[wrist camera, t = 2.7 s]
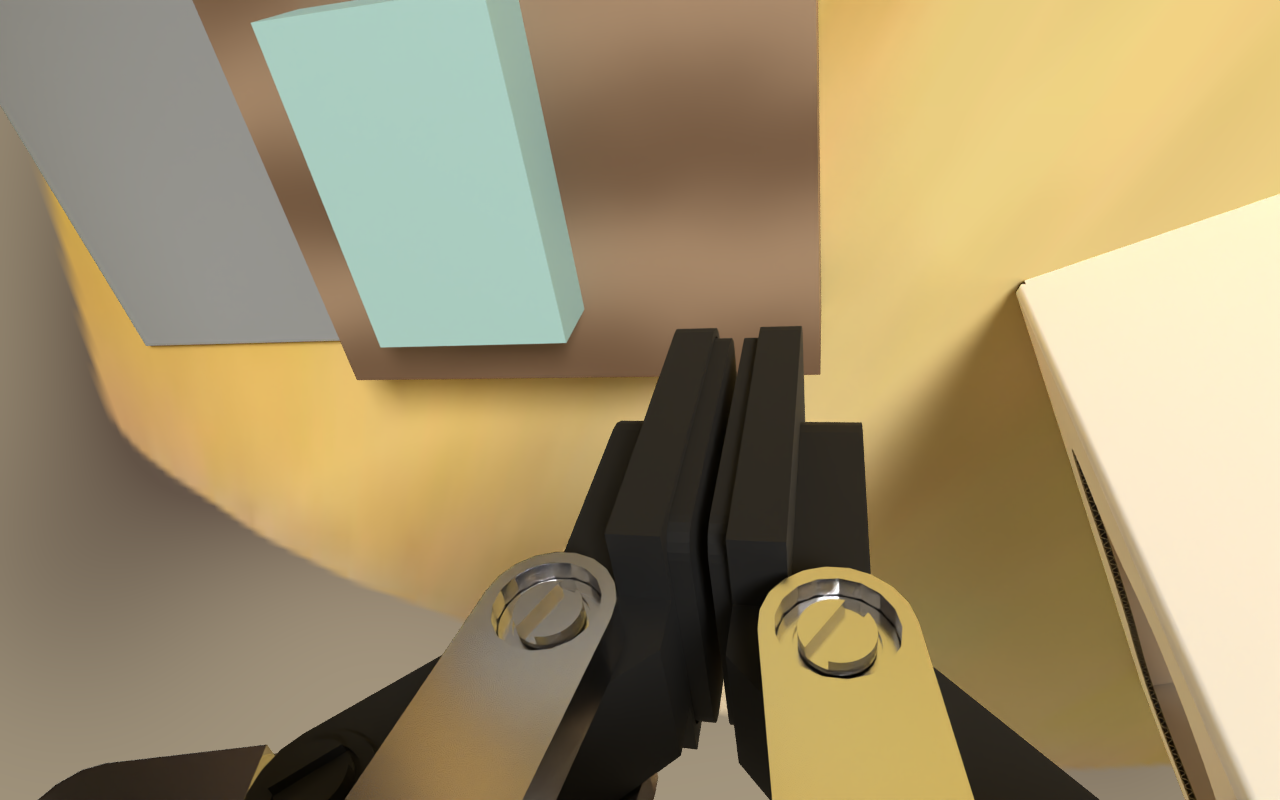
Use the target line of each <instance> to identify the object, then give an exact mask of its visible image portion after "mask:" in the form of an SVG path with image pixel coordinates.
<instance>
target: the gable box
mask: <svg viewBox="0 0 1280 800" xmlns="http://www.w3.org/2000/svg"><path fill="white" fill-rule="evenodd" d="M1024 283H1025V284H1021V286H1020V287H1019V289H1018V290H1017V291H1016V295H1017V298H1018V301H1019V304H1020V308H1021V311H1022V314H1023V317H1024V320H1025V323H1026V326H1027V329H1028V333H1029V336H1030V339H1031V342H1032V345H1033V348H1034V351H1035V354H1036V357H1037V361H1038V364H1039V367H1040V370H1041V373H1042V376H1043V379H1044V382H1045V386H1046V389H1047V392H1048V395H1049V398H1050V401H1051V404H1052V407H1053V411H1054V414H1055V417H1056V420H1057V423H1058V426H1059V429H1060V432H1061V436H1062V439H1063V442H1064V445H1065V448H1066V451H1067V454H1068V457H1069V460H1070V464H1071V467H1072V470H1073V473H1074V476H1075V479H1076V482H1077V485H1078V489H1079V492H1080V495H1081V498H1082V501H1083V504H1084V507H1085V510H1086V514H1087V517H1088V520H1089V523H1090V526H1091V529H1092V532H1093V535H1094V539H1095V542H1096V545H1097V548H1098V551H1099V554H1100V557H1101V560H1102V563H1103V567H1104V570H1105V573H1106V576H1107V579H1108V582H1109V585H1110V588H1111V592H1112V595H1113V598H1114V601H1115V604H1116V607H1117V610H1118V613H1119V617H1120V620H1121V623H1122V626H1123V629H1124V632H1125V635H1126V638H1127V642H1128V645H1129V648H1130V651H1131V654H1132V657H1133V660H1134V663H1135V667H1136V670H1137V673H1138V676H1139V679H1140V682H1141V685H1142V688H1143V691H1144V693H1145V696H1146V698H1147V701H1148V704H1149V706H1150V709H1151V712H1152V714H1153V717H1154V719H1155V722H1156V725H1157V727H1158V730H1159V733H1160V735H1161V738H1162V740H1163V743H1164V746H1165V748H1166V751H1167V754H1168V756H1169V759H1170V761H1171V764H1172V767H1173V769H1174V772H1175V775H1176V777H1177V780H1178V783H1179V785H1180V787H1181V790H1182V793H1183V796H1184V798H1185V800H1280V194H1278V195H1275V196H1272V197H1269V198H1266V199H1263V200H1260V201H1257V202H1254V203H1251V204H1248V205H1245V206H1242V207H1239V208H1236V209H1234V210H1231V211H1228V212H1225V213H1222V214H1219V215H1216V216H1213V217H1210V218H1207V219H1204V220H1201V221H1198V222H1195V223H1192V224H1189V225H1186V226H1183V227H1181V228H1178V229H1175V230H1172V231H1169V232H1166V233H1163V234H1160V235H1157V236H1154V237H1151V238H1148V239H1145V240H1142V241H1139V242H1136V243H1133V244H1131V245H1128V246H1125V247H1122V248H1119V249H1116V250H1113V251H1110V252H1107V253H1104V254H1101V255H1098V256H1095V257H1092V258H1089V259H1086V260H1083V261H1080V262H1078V263H1075V264H1072V265H1069V266H1066V267H1063V268H1060V269H1057V270H1054V271H1051V272H1048V273H1045V274H1042V275H1039V276H1036V277H1033V278H1030V279H1028V280H1025V281H1024Z"/></svg>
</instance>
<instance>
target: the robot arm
mask: <svg viewBox="0 0 1280 800" xmlns="http://www.w3.org/2000/svg"><path fill="white" fill-rule="evenodd" d="M723 679H724V686H725V694H726V702H727V709H728V717H729V723H730V724H731V725H734V728H735V736H736V744H737V752H738V759H739V763H740V765H742V767H743V768H744V769H745V771H746V772H747V773H748V774H749V775H750V776H751V778H752V779H753V780H754V781H755V783H756V784H757V785H758V786H759V787H760V789H761V790H762V791H763V792H764V793H765V795H766V796H767V797H768V798H769V799H770V800H1099V799H1098V798H1097V797H1095V796H1094V795H1093V794H1092V793H1090V792H1089V791H1088V790H1087V789H1085V788H1084V787H1083V786H1082V785H1080V784H1079V783H1078V782H1077V781H1075V780H1074V779H1073V778H1072V777H1070V776H1069V775H1068V774H1067V773H1065V772H1064V771H1063V770H1062V769H1060V768H1059V767H1058V766H1057V765H1055V764H1054V763H1053V762H1052V761H1050V760H1049V759H1048V758H1047V757H1045V756H1044V755H1043V754H1042V753H1040V752H1039V751H1038V750H1037V749H1035V748H1034V747H1033V746H1032V745H1030V744H1029V743H1028V742H1027V741H1025V740H1024V739H1023V738H1022V737H1020V736H1019V735H1018V734H1017V733H1015V732H1014V731H1013V730H1012V729H1010V728H1009V727H1008V726H1007V725H1005V724H1004V723H1003V722H1002V721H1000V720H999V719H998V718H997V717H995V716H994V715H993V714H992V713H990V712H989V711H988V710H987V709H985V708H984V707H983V706H982V705H980V704H979V703H978V702H977V701H975V700H974V699H973V698H972V697H970V696H969V695H968V694H967V693H965V692H964V691H963V690H962V689H960V688H959V687H958V686H957V685H955V684H954V683H953V682H952V681H950V680H949V679H948V678H947V677H945V676H944V675H943V674H942V673H940V672H939V671H938V670H937V669H935V668H934V667H933V666H932V662H931V659H930V656H929V653H928V649H927V646H926V643H925V640H924V637H923V633H922V630H921V627H920V624H919V621H918V619H917V617H916V615H915V613H914V611H913V609H912V608H911V606H910V604H909V602H908V601H907V600H906V599H905V598H904V597H903V596H902V595H901V594H900V593H899V592H898V591H897V590H896V589H895V588H894V587H893V586H891V585H889V584H887V583H886V582H884V581H882V580H880V579H879V578H877V577H875V576H873V575H871V573H870V555H869V537H868V519H867V500H866V482H865V464H864V446H863V429H862V423H845V422H805V403H804V363H803V331H802V326H775V327H760V331H759V337H758V338H744V342H743V347H742V352H741V357H740V362H739V368H738V373H737V371H736V359H735V347H734V341H733V338H720V336H719V332H718V329H717V328H695V329H676V331H675V333H674V336H673V339H672V342H671V345H670V347H669V350H668V353H667V356H666V359H665V362H664V365H663V367H662V370H661V373H660V376H659V379H658V382H657V385H656V387H655V390H654V393H653V396H652V399H651V402H650V405H649V407H648V410H647V413H646V416H645V419H644V421H620V422H618V423H617V424H616V426H615V427H614V429H613V431H612V434H611V436H610V439H609V441H608V444H607V446H606V449H605V451H604V454H603V456H602V459H601V461H600V464H599V466H598V469H597V471H596V474H595V476H594V479H593V481H592V484H591V486H590V489H589V491H588V494H587V496H586V499H585V501H584V504H583V506H582V509H581V511H580V514H579V516H578V519H577V521H576V524H575V526H574V529H573V531H572V534H571V536H570V539H569V541H568V544H567V546H566V549H565V551H564V552H554V553H548V554H543V555H537V556H534V557H532V558H529V559H527V560H525V561H522V562H520V563H517V564H516V565H514V566H513V567H511V568H510V569H508V570H507V571H505V572H504V573H503V574H501V575H500V576H499V577H498V578H497V579H496V580H495V581H494V582H493V583H492V584H491V586H490V587H489V588H488V589H487V590H486V591H485V593H484V594H483V596H482V597H481V599H480V600H479V602H478V603H477V605H476V606H475V608H474V609H473V611H472V612H471V614H470V615H469V616H468V618H467V619H466V621H465V622H464V624H463V625H462V627H461V629H460V630H459V631H458V633H457V634H456V636H455V637H454V639H453V640H452V642H451V643H450V645H449V646H448V648H447V649H446V650H445V652H444V654H443V655H441V656H440V657H438V658H436V659H434V660H433V661H431V662H429V663H427V664H425V665H424V666H422V667H420V668H419V669H417V670H415V671H413V672H411V673H410V674H408V675H406V676H404V677H403V678H401V679H399V680H397V681H396V682H394V683H392V684H390V685H389V686H387V687H385V688H383V689H381V690H380V691H378V692H376V693H374V694H373V695H371V696H369V697H367V698H366V699H364V700H362V701H360V702H359V703H357V704H355V705H353V706H352V707H350V708H348V709H346V710H344V711H343V712H341V713H339V714H337V715H336V716H334V717H332V718H330V719H329V720H327V721H325V722H324V723H322V724H320V725H318V726H317V727H315V728H313V729H311V730H309V731H308V732H306V733H304V734H302V735H301V736H300V737H298V738H297V739H295V740H294V741H293V742H291V743H290V744H288V745H287V746H285V747H284V748H283V749H281V750H280V751H279V752H278V753H276V754H273V752H272V751H271V750H270V748H269V747H268V745H259V746H250V747H242V748H233V749H225V750H216V751H208V752H199V753H190V754H182V755H173V756H165V757H156V758H147V759H139V760H130V761H121V762H113V763H105V764H101V765H98V766H94V767H91V768H87V769H84V770H81V771H79V772H77V773H76V774H74V775H72V776H70V777H69V778H67V779H65V780H63V781H61V782H60V783H58V784H56V785H55V786H54V787H53V788H51V789H50V790H49V791H48V792H47V793H45V794H44V795H43V796H42V797H41V798H39V799H38V800H653V799H654V796H655V792H656V786H657V781H658V773H657V772H659V771H660V770H661V769H663V768H664V767H666V766H667V765H668V764H670V763H671V762H672V761H674V760H675V759H677V758H678V757H679V756H681V752H682V748H690V749H697V748H698V742H699V735H700V728H701V722H702V721H704V722H713V723H716V721H717V718H718V714H719V708H720V701H721V693H722V686H723Z"/></svg>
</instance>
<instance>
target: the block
mask: <svg viewBox="0 0 1280 800" xmlns="http://www.w3.org/2000/svg"><path fill="white" fill-rule="evenodd" d="M251 25H252V28H253V30H254V33H255V35H256V38H257V40H258V43H259V45H260V48H261V50H262V53H263V55H264V58H265V60H266V63H267V65H268V68H269V70H270V73H271V75H272V78H273V80H274V83H275V85H276V88H277V90H278V93H279V95H280V98H281V100H282V103H283V105H284V108H285V110H286V113H287V115H288V118H289V120H290V123H291V125H292V128H293V130H294V133H295V135H296V138H297V140H298V142H299V145H300V147H301V150H302V152H303V155H304V157H305V160H306V162H307V165H308V167H309V170H310V172H311V175H312V177H313V180H314V182H315V185H316V187H317V190H318V192H319V195H320V197H321V200H322V202H323V205H324V207H325V210H326V212H327V215H328V217H329V220H330V222H331V225H332V227H333V230H334V232H335V235H336V237H337V240H338V242H339V245H340V247H341V250H342V252H343V255H344V257H345V260H346V262H347V265H348V267H349V270H350V272H351V275H352V277H353V280H354V282H355V285H356V287H357V290H358V292H359V295H360V297H361V300H362V302H363V305H364V307H365V310H366V312H367V315H368V317H369V320H370V322H371V325H372V327H373V330H374V332H375V335H376V337H377V340H378V342H379V345H380V347H423V346H465V345H506V344H548V343H567V341H568V339H569V337H570V335H571V333H572V332H573V330H574V328H575V326H576V324H577V322H578V320H579V318H580V317H581V315H582V313H583V311H584V305H583V300H582V295H581V291H580V286H579V281H578V277H577V272H576V267H575V262H574V258H573V253H572V248H571V244H570V239H569V234H568V230H567V225H566V220H565V215H564V211H563V206H562V201H561V197H560V192H559V187H558V183H557V178H556V173H555V168H554V164H553V159H552V154H551V150H550V145H549V140H548V136H547V131H546V126H545V122H544V117H543V112H542V107H541V103H540V98H539V93H538V89H537V84H536V79H535V75H534V70H533V65H532V60H531V56H530V51H529V46H528V42H527V37H526V32H525V28H524V23H523V18H522V13H521V9H520V4H519V0H354V1H347V2H341V3H335V4H328V5H322V6H315V7H309V8H303V9H297V10H294V11H290V12H287V13H283V14H280V15H276V16H273V17H269V18H266V19H262V20H259V21H255V22H252V23H251Z"/></svg>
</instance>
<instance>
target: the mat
mask: <svg viewBox="0 0 1280 800" xmlns="http://www.w3.org/2000/svg"><path fill="white" fill-rule="evenodd" d="M0 106H1V108H2V109H3V111H4V113H5V114H6V116H7V118H8V119H9V121H10V123H11V124H12V126H13V127H14V129H15V131H16V132H17V134H18V135H19V137H20V139H21V141H22V142H23V144H24V146H25V147H26V149H27V150H28V152H29V154H30V155H31V157H32V159H33V160H34V162H35V164H36V165H37V167H38V169H39V170H40V172H41V174H42V175H43V177H44V178H45V180H46V182H47V183H48V185H49V187H50V188H51V190H52V192H53V193H54V195H55V197H56V198H57V200H58V202H59V203H60V205H61V206H62V208H63V210H64V211H65V213H66V215H67V216H68V218H69V220H70V221H71V223H72V225H73V226H74V228H75V230H76V231H77V233H78V234H79V236H80V238H81V239H82V241H83V243H84V244H85V246H86V248H87V249H88V251H89V253H90V254H91V256H92V258H93V259H94V261H95V262H96V264H97V266H98V267H99V269H100V271H101V272H102V274H103V276H104V277H105V279H106V281H107V282H108V284H109V285H110V287H111V289H112V290H113V292H114V294H115V295H116V297H117V299H118V300H119V302H120V304H121V305H122V307H123V309H124V310H125V312H126V313H127V315H128V317H129V318H130V320H131V322H132V323H133V325H134V327H135V328H136V330H137V332H138V333H139V335H140V337H141V338H142V340H143V341H144V343H145V345H146V346H156V345H193V344H230V343H267V342H304V341H340V340H339V337H338V335H337V333H336V330H335V328H334V326H333V323H332V321H331V319H330V316H329V314H328V312H327V310H326V307H325V305H324V303H323V300H322V298H321V296H320V293H319V291H318V289H317V287H316V284H315V282H314V280H313V277H312V275H311V273H310V270H309V268H308V266H307V263H306V261H305V259H304V257H303V254H302V252H301V250H300V247H299V245H298V243H297V240H296V238H295V236H294V233H293V231H292V229H291V227H290V224H289V222H288V220H287V217H286V215H285V213H284V210H283V208H282V206H281V204H280V201H279V199H278V197H277V194H276V192H275V190H274V187H273V185H272V183H271V180H270V178H269V176H268V174H267V171H266V169H265V167H264V164H263V162H262V160H261V157H260V155H259V153H258V151H257V148H256V146H255V144H254V141H253V139H252V137H251V134H250V132H249V130H248V127H247V125H246V123H245V121H244V118H243V116H242V114H241V111H240V109H239V107H238V104H237V102H236V100H235V98H234V95H233V93H232V91H231V88H230V86H229V84H228V81H227V79H226V77H225V74H224V72H223V70H222V68H221V65H220V63H219V61H218V58H217V56H216V54H215V51H214V49H213V47H212V45H211V42H210V40H209V38H208V35H207V33H206V31H205V28H204V26H203V24H202V21H201V19H200V17H199V15H198V12H197V10H196V8H195V5H194V3H193V1H192V0H0Z"/></svg>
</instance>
